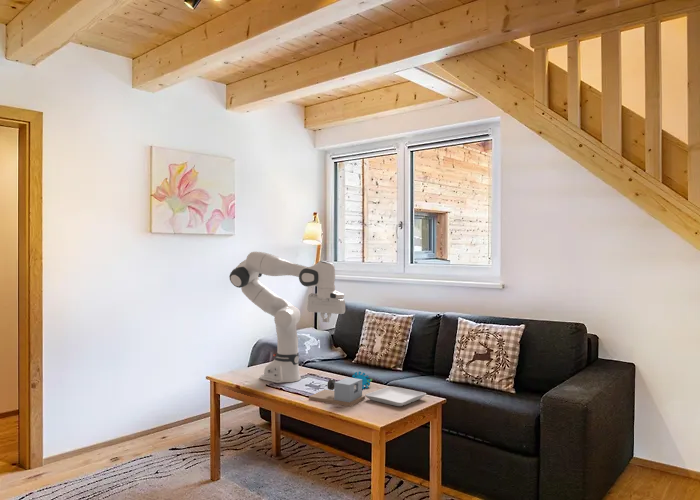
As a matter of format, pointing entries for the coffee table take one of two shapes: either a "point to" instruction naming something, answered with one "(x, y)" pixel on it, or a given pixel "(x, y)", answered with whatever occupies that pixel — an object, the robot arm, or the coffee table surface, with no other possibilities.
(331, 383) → the shaft
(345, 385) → the bearing block
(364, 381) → the gear
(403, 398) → the salad plate
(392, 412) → the coffee table surface
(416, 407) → the coffee table surface
